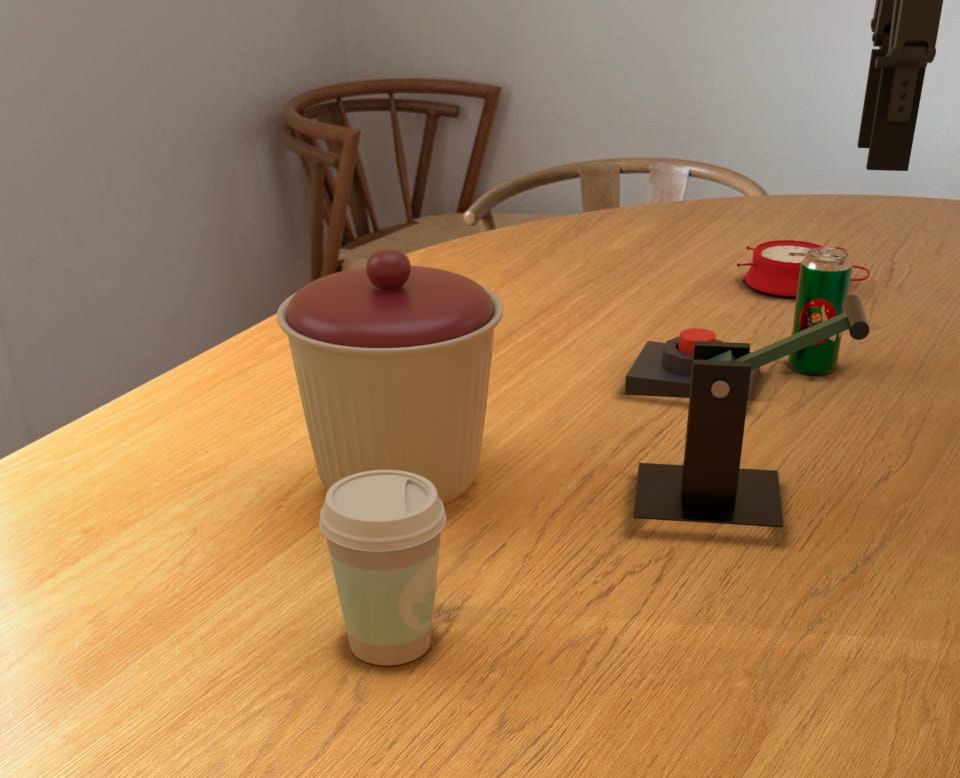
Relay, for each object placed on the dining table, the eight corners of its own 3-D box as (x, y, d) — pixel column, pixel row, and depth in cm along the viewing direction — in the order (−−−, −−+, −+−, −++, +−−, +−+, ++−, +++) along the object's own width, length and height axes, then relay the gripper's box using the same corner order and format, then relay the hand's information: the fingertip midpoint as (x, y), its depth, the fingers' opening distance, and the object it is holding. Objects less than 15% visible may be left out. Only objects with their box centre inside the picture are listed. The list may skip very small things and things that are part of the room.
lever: (866, 313, 98) (856, 286, 97) (874, 341, 93) (863, 312, 92) (709, 380, 103) (698, 354, 102) (709, 409, 98) (697, 383, 97)
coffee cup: (409, 690, 86) (401, 537, 79) (307, 656, 89) (291, 506, 82) (471, 629, 92) (468, 482, 85) (373, 599, 95) (363, 455, 88)
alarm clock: (745, 237, 157) (870, 220, 152) (751, 286, 160) (873, 271, 155) (732, 263, 149) (863, 245, 143) (738, 314, 152) (867, 298, 146)
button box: (759, 373, 131) (763, 336, 129) (744, 411, 123) (749, 372, 121) (646, 360, 134) (648, 324, 132) (624, 396, 126) (626, 358, 124)
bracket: (775, 485, 110) (796, 333, 102) (781, 542, 102) (804, 381, 94) (638, 477, 111) (648, 327, 104) (632, 532, 103) (642, 374, 96)
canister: (413, 565, 99) (401, 305, 87) (251, 502, 108) (221, 258, 96) (543, 481, 111) (549, 241, 99) (388, 430, 120) (376, 205, 108)
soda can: (809, 355, 135) (825, 243, 128) (846, 369, 131) (865, 255, 125) (776, 366, 132) (791, 252, 126) (813, 381, 129) (831, 265, 122)
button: (717, 346, 127) (718, 329, 126) (710, 359, 125) (712, 342, 124) (681, 342, 128) (683, 326, 127) (675, 355, 126) (676, 338, 125)
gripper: (867, -238, 84) (818, 127, 97) (901, -243, 69) (838, 191, 82) (983, -240, 83) (918, 129, 96) (1045, -245, 68) (957, 194, 81)
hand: (881, 157), depth 89 cm, fingers open, 6 cm apart
